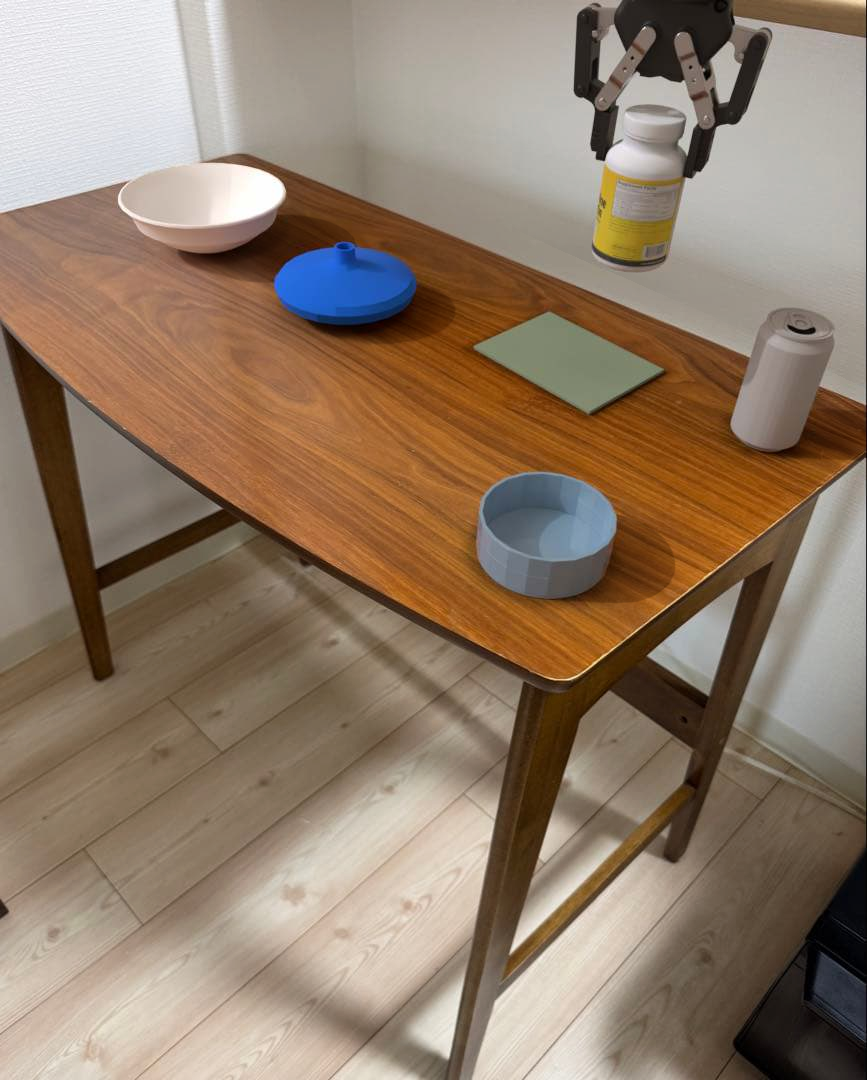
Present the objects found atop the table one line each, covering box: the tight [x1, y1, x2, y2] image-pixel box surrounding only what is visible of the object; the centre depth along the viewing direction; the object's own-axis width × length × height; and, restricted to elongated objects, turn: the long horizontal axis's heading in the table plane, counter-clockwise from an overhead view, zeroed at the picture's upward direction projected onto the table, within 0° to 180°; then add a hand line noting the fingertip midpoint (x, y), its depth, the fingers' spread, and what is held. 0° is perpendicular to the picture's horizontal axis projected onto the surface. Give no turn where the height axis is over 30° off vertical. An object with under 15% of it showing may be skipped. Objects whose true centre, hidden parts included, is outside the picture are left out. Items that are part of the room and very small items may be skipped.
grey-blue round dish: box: [475, 471, 618, 600], centre depth 71 cm, size 11×11×4 cm
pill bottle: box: [591, 103, 688, 273], centre depth 72 cm, size 6×6×12 cm
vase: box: [273, 241, 418, 326], centre depth 99 cm, size 16×16×7 cm
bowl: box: [117, 162, 287, 254], centre depth 111 cm, size 20×20×6 cm
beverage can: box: [730, 307, 836, 453], centre depth 82 cm, size 6×6×12 cm
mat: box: [473, 310, 665, 415], centre depth 94 cm, size 16×12×1 cm
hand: (646, 165), depth 71 cm, fingers closed on pill bottle, 6 cm apart
